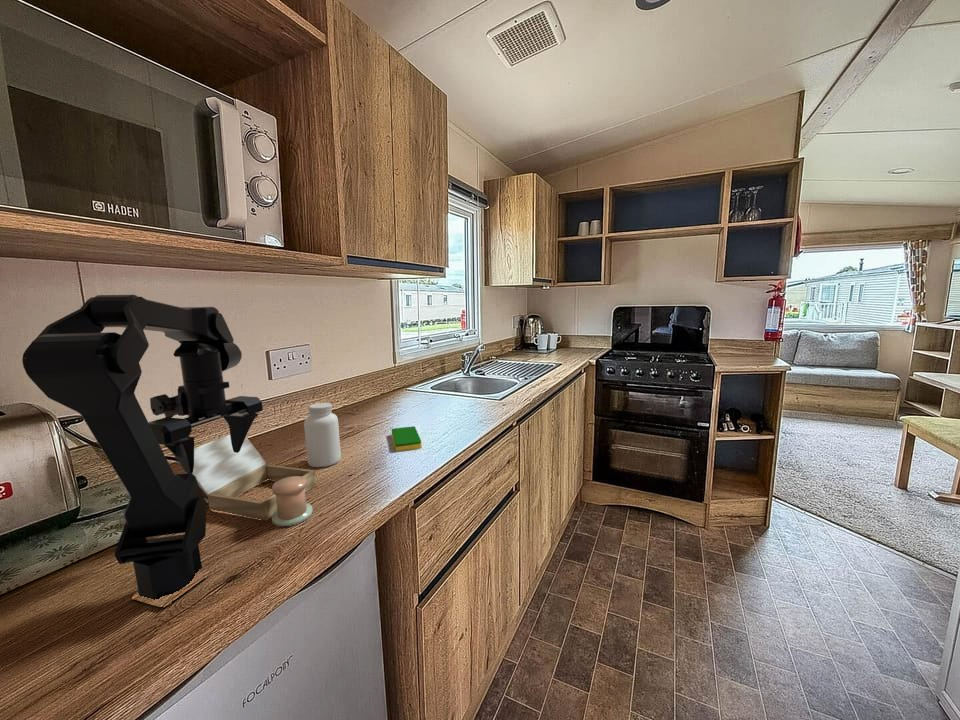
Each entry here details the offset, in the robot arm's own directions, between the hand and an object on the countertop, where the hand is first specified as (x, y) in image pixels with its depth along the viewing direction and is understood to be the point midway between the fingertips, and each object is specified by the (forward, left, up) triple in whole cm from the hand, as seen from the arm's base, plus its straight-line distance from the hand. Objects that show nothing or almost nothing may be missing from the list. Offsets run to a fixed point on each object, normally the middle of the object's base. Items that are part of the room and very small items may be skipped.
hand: (214, 461), depth 70 cm
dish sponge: (+46, -15, -13) cm, 50 cm away
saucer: (+5, -12, -12) cm, 17 cm away
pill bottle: (+28, -1, -12) cm, 31 cm away
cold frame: (+9, +3, -12) cm, 16 cm away
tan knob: (+5, -12, -11) cm, 17 cm away
